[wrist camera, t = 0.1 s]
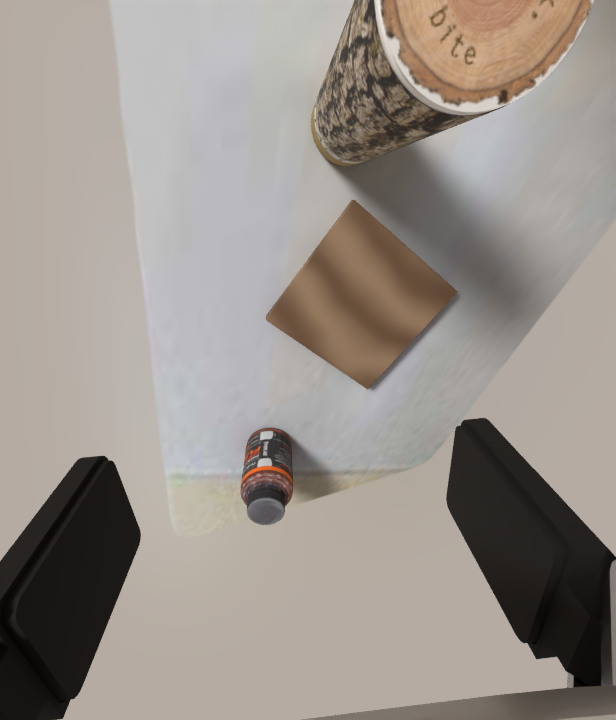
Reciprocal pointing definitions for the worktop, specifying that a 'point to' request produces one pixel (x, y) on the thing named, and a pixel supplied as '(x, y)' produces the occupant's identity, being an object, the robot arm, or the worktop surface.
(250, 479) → the supplement bottle
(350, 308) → the board
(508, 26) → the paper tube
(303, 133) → the worktop surface
